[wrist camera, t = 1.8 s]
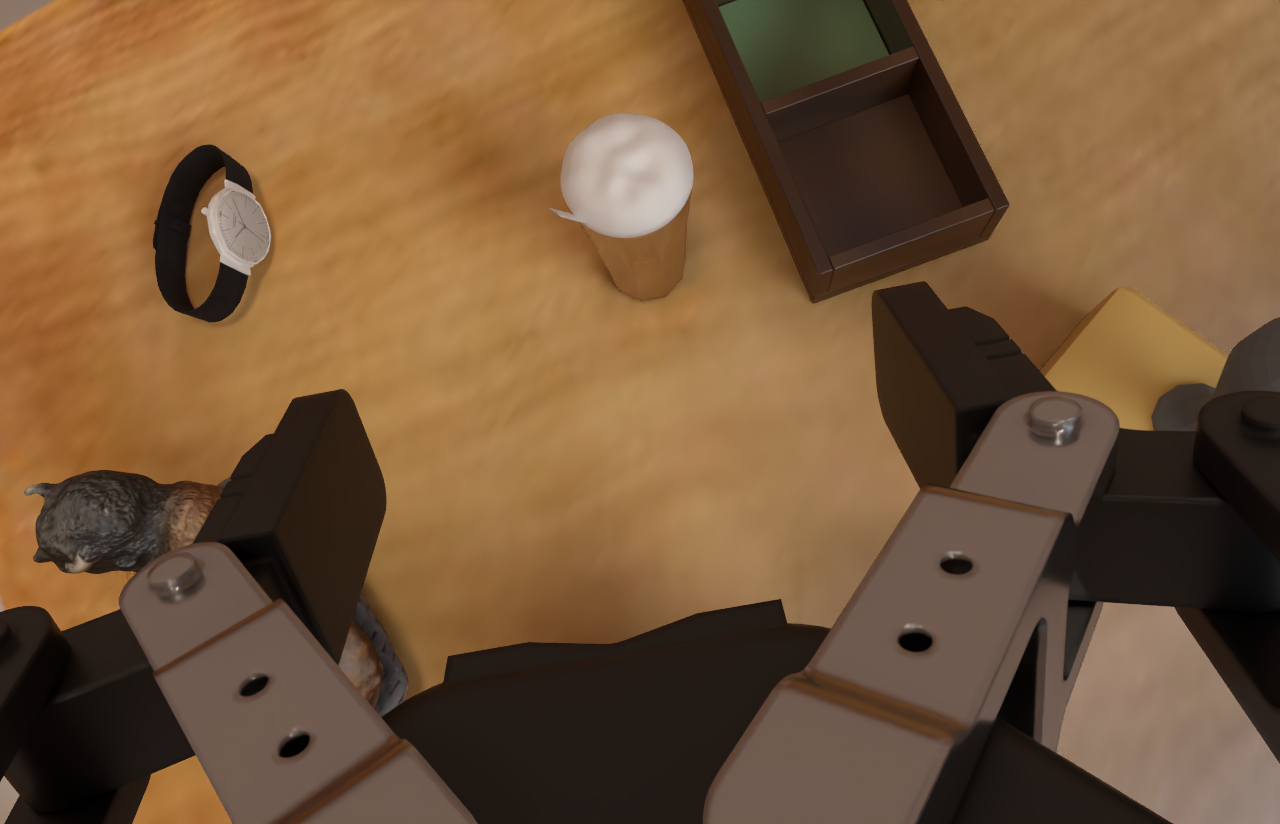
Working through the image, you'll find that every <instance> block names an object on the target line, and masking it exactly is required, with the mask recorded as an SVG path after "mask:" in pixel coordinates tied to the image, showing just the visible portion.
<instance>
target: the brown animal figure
mask: <svg viewBox="0 0 1280 824" xmlns="http://www.w3.org/2000/svg"><path fill="white" fill-rule="evenodd" d="M228 481H231V478H229V479H226V480H224V481H222V482H221V483H220V484H218V485H217V486H214V485H205V484H201V483H196V482H192V481H180V482H176V483H174V484H159V483H156V482H155V481H154V480H152V479H151V478H149V477H146V476H143V475H140V474H134V473H125V472H118V471H111V470H98V471H89V472H86V473H83V474H80V475H77V476H73V477H71V478H68V479H66V480H64V481H63V482H61V483H58V484H49V483H40V484H37V485H32V486H30V487H29V488H27V489H26V490H25V491H24V494H25V495H32V494H35V493H38V494H40V495H41V496H43V497H44V498H45V502H44V506H43V508H42V510H41V514H40V515H39V516H38V518H37V521H36V538H37V543H38V546H39V548H38V550H37V552H36V554H35V555H34V557H33V559H34V561H35V562H37V563H43V562H49V561H52V562H54V563H55V564H56V565H57V566H58V568H59V569H60V570H61V571H62V572H65V573H81V572H88V573H92V574H101V573H106V572H110V571H118V570H120V571H134V572H138V571H139V570H141V569H142V568H143V567H144V566H146V565H147V564H149V563H150V562H152V561H153V560H155V559H157V558H158V557H160V556H162V555H164V554H166V553H168V552H170V551H173V550H175V549H178V548H180V547H184V546H187V545H190V544H192V543H193V541H194V540H195V538H196V536H197V534H198V533H199V531H200V529H201V527H202V526H203V524H204V522H205V520H206V519H207V517H208V515H209V514H210V512H211V510H212V508H213V507H214V505H215V503H216V501H217V500H218V499H221V495H220V494H221V493H222V491H223V489H224V487H225V486H226V484H227V482H228ZM338 666H339V667H340V669H341V670H342V671H343V672H344V673H345V675H346V676H347V677H348V678H349V679H350V681H351V682H352V683H353V684H354V685H355V687H356V688H357V689H358V690H359V691H360V693H361V694H362V695H363V696H364V697H365V699H366V700H367V701H368V702H369V703H370V705H371V706H372V707H373V708H374V709H375V711H376V712H377V713H378V714H379V715H380V717H382V716H383V715H385V714H386V713H388V712H389V711H390V710H392V709H393V708H395V707H396V706H398V705H399V704H401V703H403V702H404V700H405V697H406V694H407V690H408V678H407V675H406V672H405V670H404V667H403V665H402V663H401V661H400V659H399V657H398V655H397V654H396V652H395V650H394V647H393V645H392V643H391V641H390V639H389V637H388V635H387V633H386V632H385V630H384V628H383V627H382V625H381V623H380V622H379V621H378V619H377V618H376V616H375V615H374V614H373V612H372V610H371V608H370V607H369V605H368V603H367V601H366V599H365V597H364V596H363V594H362V592H361V594H360V597H359V600H358V604H357V607H356V610H355V613H354V617H353V620H352V623H351V626H350V630H349V633H348V636H347V640H346V643H345V646H344V649H343V653H342V656H341V659H340V662H339V665H338Z"/></svg>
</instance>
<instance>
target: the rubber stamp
mask: <svg viewBox="0 0 1280 824" xmlns="http://www.w3.org/2000/svg"><path fill="white" fill-rule="evenodd" d="M1040 372H1041V373H1042V374H1043V375H1044V377H1045V378H1046V379H1047V380H1048V381H1049V382H1050V383H1051V385H1052V386H1053V387H1054V388H1055V389H1056V390H1057V391H1061V392H1070V393H1076V394H1081V395H1084V396H1088V397H1091V398H1093V399H1096V400H1098V401H1100V402H1102V403H1103V404H1105V405H1107V406H1108V407H1109V408H1111V409H1112V410H1113V412H1114V413H1115V414H1116V415H1117V417H1118V419H1119V425H1120V427H1119V428H1124V429H1132V430H1147V431H1196V428H1197V421H1198V414H1199V412H1200V409H1201V408H1202V407H1203V406H1204V404H1206V403H1207V402H1209V401H1210V400H1212V399H1214V398H1216V397H1218V396H1222V395H1225V394H1229V393H1234V392H1241V391H1274V392H1280V318H1276V319H1273V320H1272V321H1270V322H1268V323H1267V324H1265V325H1263V326H1262V327H1261V328H1259V329H1258V330H1256V331H1255V332H1253V333H1252V334H1250V335H1249V336H1247V337H1246V338H1244V339H1243V340H1241V341H1240V342H1239V343H1238V344H1237V345H1236V346H1235V347H1234V348H1233V350H1232V351H1231V353H1230V354H1229V356H1228V355H1227V354H1225V353H1224V352H1222V351H1221V350H1220V349H1218V348H1217V347H1215V346H1214V345H1212V344H1211V343H1210V342H1208V341H1207V340H1205V339H1204V338H1202V337H1201V336H1200V335H1198V334H1197V333H1195V332H1194V331H1193V330H1191V329H1190V328H1188V327H1187V326H1185V325H1184V324H1183V323H1181V322H1180V321H1178V320H1177V319H1175V318H1174V317H1173V316H1171V315H1170V314H1168V313H1167V312H1165V311H1164V310H1163V309H1161V308H1160V307H1158V306H1157V305H1155V304H1154V303H1153V302H1151V301H1150V300H1148V299H1147V298H1145V297H1144V296H1143V295H1141V294H1140V293H1138V292H1137V291H1135V290H1133V289H1131V288H1126V287H1119V288H1117V289H1116V290H1114V291H1113V292H1112V293H1111V294H1110V295H1109V296H1107V297H1106V298H1105V299H1104V300H1103V301H1102V302H1101V303H1100V304H1099V305H1098V306H1097V307H1096V308H1094V309H1093V310H1092V311H1091V312H1090V313H1089V314H1088V315H1087V316H1086V317H1085V318H1084V319H1083V320H1082V321H1081V322H1080V324H1079V325H1078V326H1077V327H1076V328H1075V330H1074V331H1073V332H1072V333H1071V334H1070V336H1069V337H1068V338H1067V339H1066V340H1065V341H1064V343H1063V344H1062V345H1061V346H1060V347H1059V349H1058V350H1057V351H1056V352H1055V353H1054V355H1053V356H1052V357H1051V358H1050V359H1049V360H1048V362H1047V363H1046V364H1045V365H1044V366H1043V368H1042V369H1041V370H1040Z"/></svg>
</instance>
